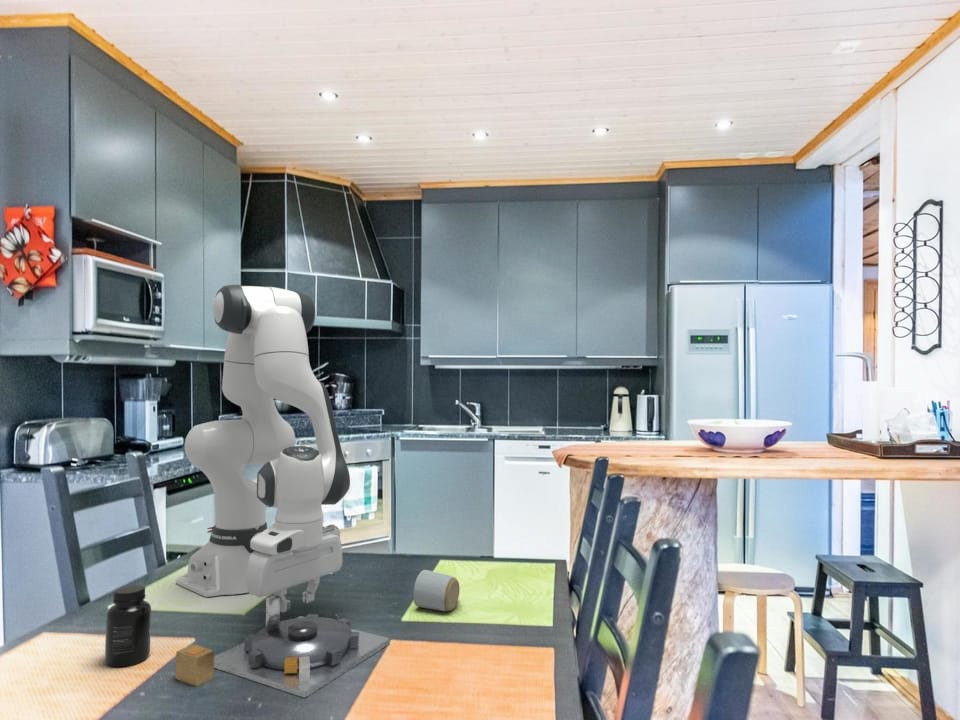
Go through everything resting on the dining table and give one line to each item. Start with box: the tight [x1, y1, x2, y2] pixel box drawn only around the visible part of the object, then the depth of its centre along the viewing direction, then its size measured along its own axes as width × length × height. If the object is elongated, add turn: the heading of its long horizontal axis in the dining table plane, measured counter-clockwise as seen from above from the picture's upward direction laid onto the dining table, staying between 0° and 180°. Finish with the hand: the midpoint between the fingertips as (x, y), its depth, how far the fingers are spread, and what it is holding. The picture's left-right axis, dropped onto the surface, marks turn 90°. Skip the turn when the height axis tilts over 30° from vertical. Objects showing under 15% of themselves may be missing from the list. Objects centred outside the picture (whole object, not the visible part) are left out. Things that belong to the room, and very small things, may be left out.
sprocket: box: [243, 595, 359, 673], centre depth 109 cm, size 20×20×8 cm
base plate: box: [214, 615, 391, 699], centre depth 109 cm, size 22×22×4 cm
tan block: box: [175, 643, 215, 688], centre depth 100 cm, size 5×3×5 cm, turn 63°
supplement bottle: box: [104, 584, 152, 668], centre depth 106 cm, size 7×7×12 cm
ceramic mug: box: [412, 569, 461, 612], centre depth 133 cm, size 11×8×8 cm
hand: (296, 606), depth 117 cm, fingers open, 4 cm apart
